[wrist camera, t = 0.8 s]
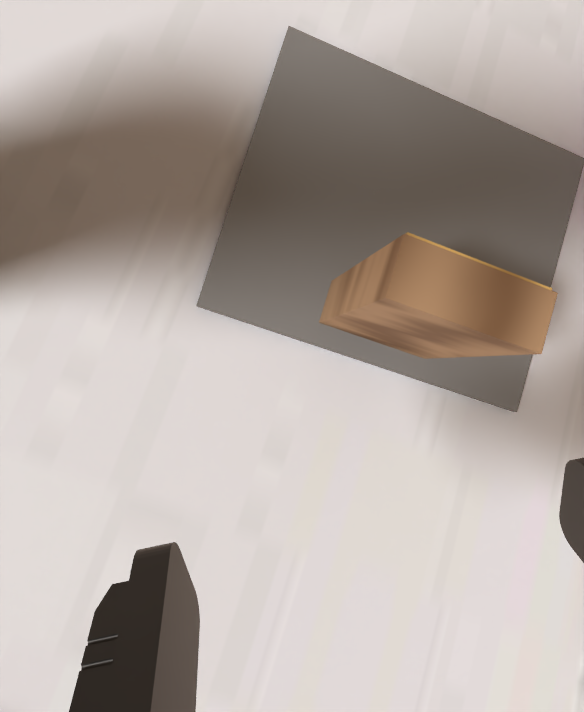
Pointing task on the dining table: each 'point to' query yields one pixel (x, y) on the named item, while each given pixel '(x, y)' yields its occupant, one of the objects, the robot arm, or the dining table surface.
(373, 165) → the rubber mat
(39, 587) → the dining table surface
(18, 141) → the dining table surface
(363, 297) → the walnut sign block
